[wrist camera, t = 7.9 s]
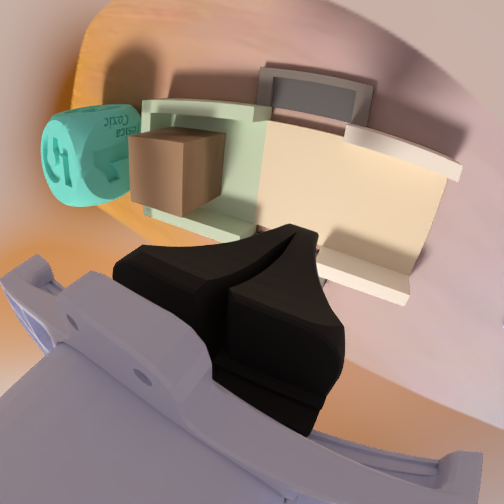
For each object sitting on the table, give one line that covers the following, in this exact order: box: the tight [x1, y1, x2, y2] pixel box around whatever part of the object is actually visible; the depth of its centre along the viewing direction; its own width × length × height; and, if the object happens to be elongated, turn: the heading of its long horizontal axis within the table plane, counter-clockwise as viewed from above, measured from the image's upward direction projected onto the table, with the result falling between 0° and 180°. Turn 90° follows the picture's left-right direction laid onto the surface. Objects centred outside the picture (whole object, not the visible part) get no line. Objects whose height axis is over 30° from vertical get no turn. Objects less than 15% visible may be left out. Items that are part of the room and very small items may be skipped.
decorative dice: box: [41, 104, 141, 207], centre depth 21 cm, size 8×8×8 cm
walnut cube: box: [128, 126, 226, 218], centre depth 19 cm, size 5×5×5 cm
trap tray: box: [141, 67, 463, 306], centre depth 19 cm, size 22×16×3 cm
